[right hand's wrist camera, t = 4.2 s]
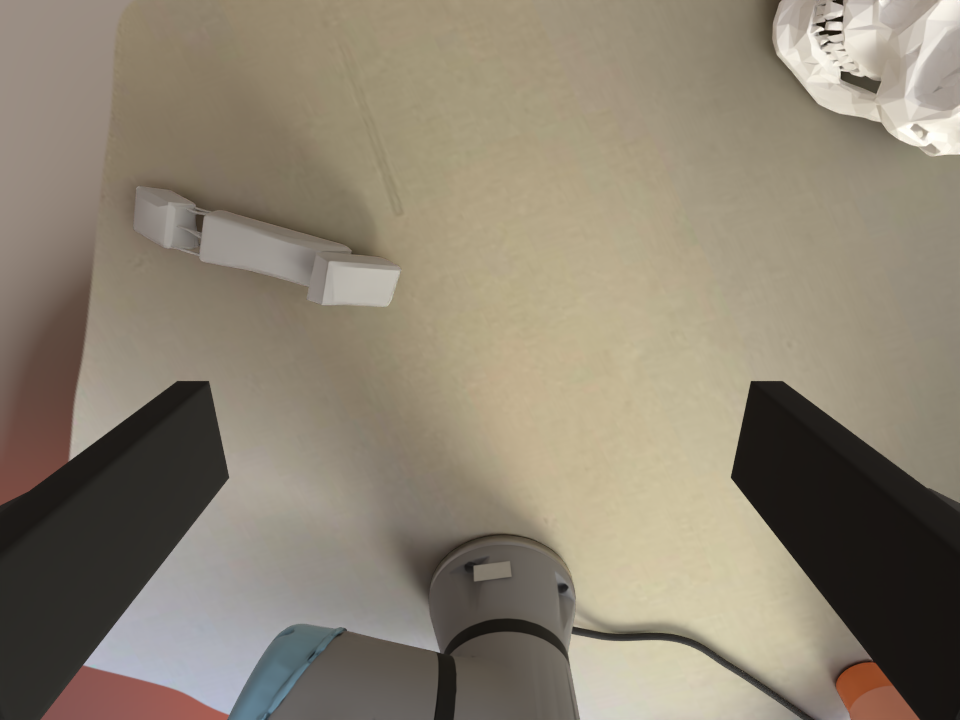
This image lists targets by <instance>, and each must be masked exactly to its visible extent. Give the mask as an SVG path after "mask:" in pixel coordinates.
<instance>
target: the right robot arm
mask: <svg viewBox="0 0 960 720" xmlns="http://www.w3.org/2000/svg"><path fill="white" fill-rule="evenodd" d="M228 479H229V474H228V470H227V465H226V460H225V455H224V451H223V446H222V441H221V436H220V431H219V427H218V422H217V417H216V412H215V408H214V403H213V398H212V393H211V388H210V384H209V381H177V382H176V383H174V384H173V385H172V386H170V387H169V388H167V389H166V390H165V391H163V392H162V393H161V394H159V395H158V396H157V397H155V398H154V399H153V400H151V401H150V402H149V403H147V404H146V405H145V406H143V407H142V408H141V409H139V410H138V411H137V412H135V413H134V414H132V415H131V416H130V417H128V418H127V419H126V420H124V421H123V422H122V423H120V424H119V425H118V426H116V427H115V428H114V429H112V430H111V431H110V432H108V433H107V434H106V435H104V436H103V437H102V438H100V439H99V440H97V441H96V442H95V443H93V444H92V445H91V446H89V447H88V448H87V449H85V450H84V451H83V452H81V453H80V454H79V455H77V456H76V457H75V458H73V459H72V460H71V461H69V462H68V463H67V464H65V465H64V466H62V467H61V468H60V469H58V470H57V471H56V472H54V473H53V474H52V475H50V476H49V477H48V478H46V479H45V480H44V481H42V482H41V483H40V484H38V485H37V486H36V487H34V488H33V489H32V490H30V491H29V492H27V493H25V494H23V495H21V496H19V497H17V498H15V499H13V500H11V501H9V502H7V503H5V504H3V505H1V506H0V720H40V719H41V718H42V717H43V715H44V714H45V713H46V712H47V710H48V709H49V708H50V706H51V705H52V704H53V703H54V701H55V700H56V699H57V698H58V696H59V695H60V694H61V692H62V691H63V690H64V689H65V687H66V686H67V685H68V683H69V682H70V681H71V680H72V678H73V677H74V676H75V674H76V673H77V672H78V671H79V669H80V668H81V667H82V666H83V664H84V663H85V662H86V660H87V659H88V658H89V657H90V655H91V654H92V653H93V651H94V650H95V649H96V648H97V646H98V645H99V644H100V642H101V641H102V640H103V639H104V637H105V636H106V635H107V634H108V632H109V631H110V630H111V628H112V627H113V626H114V625H115V623H116V622H117V621H118V619H119V618H120V617H121V616H122V614H123V613H124V612H125V610H126V609H127V608H128V607H129V605H130V604H131V603H132V601H133V600H134V599H135V598H136V596H137V595H138V594H139V593H140V591H141V590H142V589H143V587H144V586H145V585H146V584H147V582H148V581H149V580H150V578H151V577H152V576H153V575H154V573H155V572H156V571H157V569H158V568H159V567H160V566H161V564H162V563H163V562H164V561H165V559H166V558H167V557H168V555H169V554H170V553H171V552H172V550H173V549H174V548H175V546H176V545H177V544H178V543H179V541H180V540H181V539H182V537H183V536H184V535H185V534H186V532H187V531H188V530H189V528H190V527H191V526H192V525H193V523H194V522H195V521H196V520H197V518H198V517H199V516H200V514H201V513H202V512H203V511H204V509H205V508H206V507H207V505H208V504H209V503H210V502H211V500H212V499H213V498H214V496H215V495H216V494H217V493H218V491H219V490H220V489H221V487H222V486H223V485H224V484H225V482H226V481H227V480H228ZM731 479H732V480H733V481H734V482H735V484H736V485H737V486H738V487H739V489H740V490H741V491H742V493H743V494H744V495H745V496H746V498H747V499H748V500H749V502H750V503H751V504H752V505H753V507H754V508H755V509H756V511H757V512H758V513H759V514H760V516H761V517H762V518H763V520H764V521H765V522H766V523H767V525H768V526H769V527H770V528H771V530H772V531H773V532H774V534H775V535H776V536H777V537H778V539H779V540H780V541H781V543H782V544H783V545H784V546H785V548H786V549H787V550H788V552H789V553H790V554H791V555H792V557H793V558H794V559H795V561H796V562H797V563H798V564H799V566H800V567H801V568H802V569H803V571H804V572H805V573H806V575H807V576H808V577H809V578H810V580H811V581H812V582H813V584H814V585H815V586H816V587H817V589H818V590H819V591H820V593H821V594H822V595H823V596H824V598H825V599H826V600H827V601H828V603H829V604H830V605H831V607H832V608H833V609H834V610H835V612H836V613H837V614H838V616H839V617H840V618H841V619H842V621H843V622H844V623H845V625H846V626H847V627H848V628H849V630H850V631H851V632H852V634H853V635H854V636H855V637H856V639H857V640H858V641H859V642H860V644H861V645H862V646H863V648H864V649H865V650H866V651H867V653H868V654H869V655H870V657H871V658H872V659H873V660H874V662H875V663H876V664H877V666H878V667H879V668H880V669H881V671H882V672H883V673H884V674H885V676H886V677H887V678H888V680H889V681H890V682H891V683H892V685H893V686H894V687H895V689H896V690H897V691H898V692H899V694H900V695H901V696H902V698H903V699H904V700H905V701H906V703H907V704H908V705H909V707H910V708H911V709H912V710H913V712H914V713H915V714H916V715H917V717H918V718H919V719H920V720H960V503H958V502H956V501H954V500H952V499H950V498H948V497H946V496H944V495H942V494H940V493H938V492H936V491H934V490H932V489H930V488H926V487H924V486H923V485H922V484H920V483H919V482H918V481H916V480H915V479H914V478H912V477H911V476H910V475H908V474H907V473H906V472H904V471H903V470H902V469H900V468H899V467H898V466H896V465H895V464H893V463H892V462H891V461H889V460H888V459H887V458H885V457H884V456H883V455H881V454H880V453H879V452H877V451H876V450H875V449H873V448H872V447H871V446H869V445H868V444H867V443H865V442H864V441H863V440H861V439H860V438H858V437H857V436H856V435H854V434H853V433H852V432H850V431H849V430H848V429H846V428H845V427H844V426H842V425H841V424H840V423H838V422H837V421H836V420H834V419H833V418H832V417H830V416H829V415H828V414H826V413H825V412H823V411H822V410H821V409H819V408H818V407H817V406H815V405H814V404H813V403H811V402H810V401H809V400H807V399H806V398H805V397H803V396H802V395H801V394H799V393H798V392H797V391H795V390H794V389H793V388H791V387H790V386H788V385H787V384H786V383H784V382H783V381H751V384H750V388H749V393H748V398H747V403H746V408H745V412H744V417H743V422H742V427H741V431H740V436H739V441H738V446H737V451H736V455H735V460H734V465H733V470H732V474H731ZM575 609H576V600H575V590H574V585H573V581H572V577H571V574H570V571H569V570H568V568H567V566H566V564H565V563H564V562H563V560H562V559H561V558H560V557H559V556H558V555H557V554H556V553H555V552H553V551H552V550H551V549H549V548H548V547H546V546H544V545H542V544H540V543H538V542H536V541H533V540H530V539H527V538H523V537H518V536H509V535H497V536H488V537H483V538H479V539H475V540H472V541H470V542H467V543H465V544H463V545H461V546H459V547H458V548H456V549H454V550H453V551H452V552H450V553H449V554H448V555H447V556H446V557H445V558H444V559H443V560H442V561H441V562H440V564H439V565H438V567H437V568H436V570H435V572H434V574H433V577H432V580H431V585H430V593H429V610H430V617H431V621H432V624H433V628H434V631H435V635H436V639H437V642H438V646H439V649H440V653H438V652H435V651H430V650H426V649H421V648H417V647H413V646H408V645H404V644H399V643H395V642H390V641H386V640H381V639H377V638H373V637H369V636H365V635H361V634H357V633H353V632H349V631H347V630H346V629H345V628H342V627H340V628H337V629H333V628H326V627H320V626H314V625H308V624H296V625H292V626H290V627H288V628H286V629H285V630H283V631H282V632H281V633H280V634H278V635H277V637H276V638H275V639H274V640H273V641H272V642H271V644H270V645H269V646H268V648H267V649H266V651H265V652H264V654H263V655H262V657H261V658H260V660H259V661H258V663H257V665H256V666H255V668H254V670H253V672H252V673H251V675H250V677H249V679H248V680H247V682H246V684H245V686H244V688H243V690H242V692H241V693H240V695H239V697H238V699H237V701H236V703H235V705H234V707H233V709H232V711H231V713H230V715H229V717H228V719H227V720H580V717H579V712H578V706H577V701H576V696H575V690H574V685H573V679H572V674H571V669H570V664H569V658H568V650H569V644H570V639H571V634H575V635H580V636H585V637H591V638H596V639H601V640H611V641H638V640H666V641H673V642H678V643H682V644H685V645H688V646H691V647H693V648H696V649H698V650H699V651H701V652H703V653H705V654H706V655H708V656H709V657H711V658H712V659H713V660H715V661H716V662H718V663H719V664H721V665H722V666H724V667H725V668H727V669H729V670H730V671H732V672H734V673H735V674H737V675H738V676H740V677H742V678H743V679H745V680H746V681H748V682H749V683H751V684H752V685H754V686H755V687H757V688H758V689H760V690H761V691H763V692H764V693H766V694H767V695H769V696H770V697H772V698H773V699H775V700H776V701H777V702H779V703H780V704H782V705H783V706H785V707H786V708H787V709H789V710H790V711H792V712H793V713H795V714H796V715H797V716H799V717H800V718H802V719H803V720H814V719H812V718H811V717H809V716H808V715H806V714H805V713H804V712H802V711H801V710H799V709H798V708H796V707H795V706H794V705H792V704H791V703H789V702H788V701H787V700H785V699H784V698H782V697H781V696H780V695H778V694H777V693H775V692H774V691H772V690H771V689H769V688H768V687H766V686H765V685H763V684H762V683H760V682H759V681H758V680H756V679H755V678H753V677H752V676H750V675H749V674H747V673H746V672H744V671H742V670H741V669H739V668H738V667H736V666H734V665H733V664H731V663H729V662H728V661H726V660H725V659H723V658H722V657H720V656H719V655H717V654H716V653H715V652H713V651H712V650H710V649H709V648H707V647H706V646H704V645H702V644H700V643H698V642H696V641H694V640H692V639H689V638H686V637H682V636H678V635H674V634H666V633H635V634H612V633H603V632H597V631H592V630H587V629H582V628H577V627H573V622H574V616H575Z"/></svg>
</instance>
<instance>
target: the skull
mask: <svg viewBox="0 0 960 720" xmlns="http://www.w3.org/2000/svg"><path fill="white" fill-rule="evenodd" d="M832 1H833V0H781V2H780V3H779V6H778V9H777V12H776V15H775V18H774V21H773V35H772V40H773V44H774V47H775V51H776V54H777V56H778V57H779V58H780V59H781V60H782V61H783V62H784V63H785V65H786V66H787V67H788V68H789V69H790V70H791V71H792V72H793V74H794V75H795V76H796V77H797V79H798V80H799V81H800V82H801V84H802V85H803V86H804V87H805V89H806V90H807V91H808V92H809V94H810V95H811V96H812V97H813V98H814V100H815V101H816V102H817V103H818V104H819V105H821V106H823V107H825V108H827V109H830V110H832V111H834V112H837V113H839V114H845V115H852V116H858V117H864V118H867V119H869V120H872V121H877V122H882V124H883V125H884V127H885V128H886V130H887V131H888V132H889V133H890V134H891V135H893V136H894V137H896V138H897V139H899V140H901V141H903V142H905V143H908V144H910V145H912V146H918V147H919V148H920V149H921V150H922V151H924V152H925V153H926V154H927V155H929V156H938V155H946V154H960V0H844V1H843V5H840V4H837V3H834V2H832ZM824 4H826V6H821V5H824ZM821 14H823V15H821ZM817 15H818V16H817ZM843 15H844V17H843V22H832V21H829V22H826V25H825V30H842V33H841V34H838V35H833V36H829V35H828V34H825V35H821V36H820V35H819V32H820V31H823V30H824V28H822V27H820V26H817V25H816V23H820V22H825V19H827V20H830V19H833V18H837V17H840V16H843ZM829 40H830V41H831V42H834V43H827V45H824V43H826V42H827V41H829ZM840 41H841V42H840ZM843 49H845V50H843ZM841 71H845V72H850V73H851V74H852V75H856V76H859V77H863V76H867V77H869V78H870V79H872V80H876V81H881V84H880V86H879V89H878V91H877V93H873V92H871V91H869V90H866V89H864V88H861V87H858V86H856V85H853V84H850V83H848V82H845V81H843V80H842V79H841Z"/></svg>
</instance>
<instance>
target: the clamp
mask: <svg viewBox="0 0 960 720" xmlns="http://www.w3.org/2000/svg"><path fill="white" fill-rule="evenodd" d="M196 210H199V211H202V212H197V211H196ZM204 212H205V213H204ZM196 214H200V215H205V216H204V219H203V227H202V232H198V231H197V227H196ZM133 228H134V230H135V231H136V232H138V233H140V234H141V235H143V236H145V237H146V238H148V239H150V240H152V241H153V242H155V243H157V244H158V245H160V246H162V247H163V248H168V249H178V250H180V251H183V252H186V253H190V254H193V255H196V256H199V258H200V260H201V261H203V262H206V263H211V264H217V265H222V266H227V267H233V268H238V269H244V270H248V271H252V272H256V273H260V274H264V275H268V276H272V277H275V278H279V279H283V280H287V281H290V282H293V283H297V284H300V285H303V286H307V287H309V290H308V295H307V300H309V301H312V302H315V303H318V304H321V305H356V306H372V307H386V306H388V305H389V304H390V302H391V301H392V298H393V295H394V291H395V288H396V285H397V282H398V279H399V275H400V272H401V268H400V267H399V266H398V265H396V264H394V263H393V262H391V261H389V260H387V259H385V258H381V257H378V256H366V255H355V254H351V253H352V251H351V250H350V249H349V248H348V247H347V246H345V245H344V244H340V243H337V242H333V241H330V240H326V239H323V238H319V237H315V236H312V235H308V234H305V233H301V232H298V231H294V230H291V229H287V228H284V227H280V226H276V225H273V224H269V223H266V222H262V221H259V220H255V219H252V218H248V217H245V216H241V215H238V214H234V213H231V212H228V211H224V210H215V211H213V212H211V211H208V210H204V209H201V208H198V207H196V205H195V204H194V203H193V202H191V201H190V200H188V199H186V198H184V197H182V196H180V195H179V194H177V193H175V192H173V191H171V190H169V189H167V190H166V189H160V188H152V187H145V186H137V188H136V198H135V211H134V224H133ZM199 234H200V235H199ZM198 237H199V238H200V239H201V243H200V244H199V241H198ZM197 247H200V251H199V253H195V252H192V251H189V250H185V249H193V248H197Z"/></svg>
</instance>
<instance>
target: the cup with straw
mask: <svg viewBox="0 0 960 720" xmlns="http://www.w3.org/2000/svg"><path fill="white" fill-rule="evenodd" d="M836 689H837V692H838V694H839V695H840V697H841V699H842V701H843V703H844V705H845V706H846V708H847V710H848V712H849V714H850V719H851V720H920V719H919V718H918V717H917V715H916V714H915V713H914V712H913V710H912V709H911V708H910V707H909V705H908V704H907V703H906V701H905V700H904V699H903V698H902V696H901V695H900V694H899V692H898V691H897V690H896V689H895V687H894V686H893V685H892V683H891V682H890V681H889V680H888V678H887V677H886V676H885V674H884V673H883V672H882V671H881V669H880V668H879V667H878V666H877V664H876V663H873V662H867V663H861V664H857V665H854V666H852V667H850V668H848V669H847V670H845V671H844V672H843V673H842V674H841V675H840V676H839V678H838V680H837V683H836Z"/></svg>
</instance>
